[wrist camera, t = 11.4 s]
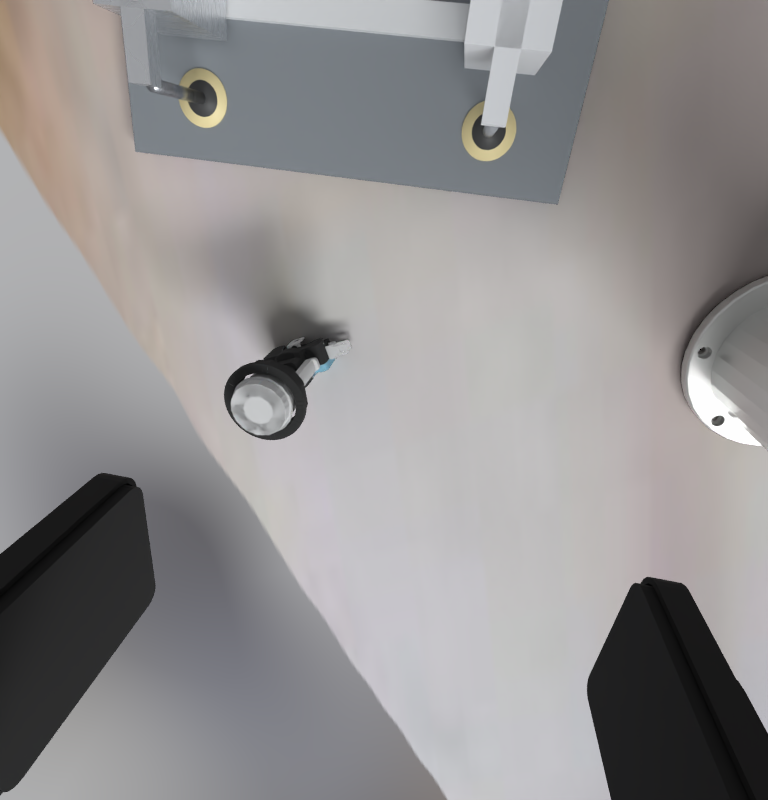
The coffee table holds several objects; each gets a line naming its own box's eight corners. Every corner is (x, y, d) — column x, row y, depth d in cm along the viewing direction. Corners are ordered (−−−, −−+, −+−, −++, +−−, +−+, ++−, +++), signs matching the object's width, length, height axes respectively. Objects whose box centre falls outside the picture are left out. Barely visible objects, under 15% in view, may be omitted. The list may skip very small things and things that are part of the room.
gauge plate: (612, -36, 26) (663, -107, 19) (553, 203, 31) (577, 211, 25) (126, -75, 28) (22, -151, 22) (148, 152, 34) (70, 147, 27)
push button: (340, 310, 37) (300, 355, 28) (363, 373, 39) (332, 434, 30) (263, 332, 38) (202, 381, 29) (289, 391, 40) (238, 454, 31)
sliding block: (226, -46, 27) (163, -103, 21) (230, 108, 30) (177, 93, 24) (159, -51, 27) (79, -109, 22) (170, 101, 30) (103, 85, 25)
